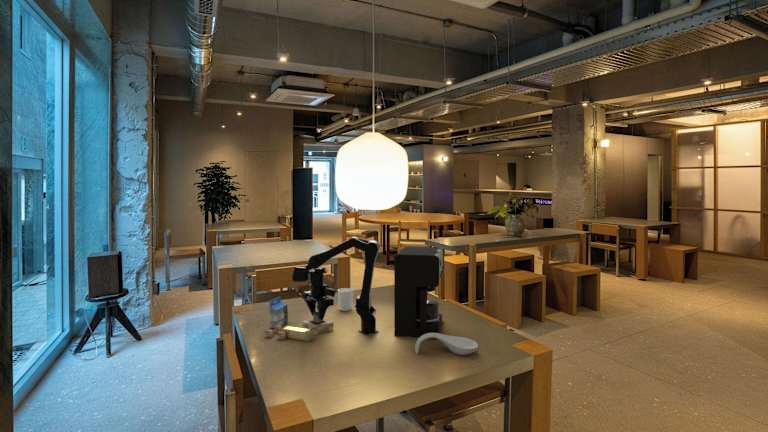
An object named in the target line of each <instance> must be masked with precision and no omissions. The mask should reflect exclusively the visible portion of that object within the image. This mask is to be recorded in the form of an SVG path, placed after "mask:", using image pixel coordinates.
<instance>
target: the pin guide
mask: <svg viewBox="0 0 768 432" xmlns="http://www.w3.org/2000/svg"><path fill="white" fill-rule="evenodd" d="M274 333H277V339H279V340H286V339H287V338H286V332H283V325H282V326H279V325H275V326H274V328H273V329H269V328H268V329H265V330H264V334H265V335H264V337H265V338H266V337H267V338H272V337H274Z"/></svg>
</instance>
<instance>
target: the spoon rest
mask: <svg viewBox="0 0 768 432" xmlns="http://www.w3.org/2000/svg"><path fill="white" fill-rule="evenodd" d="M428 338H437V339H436V340H439V341H440V342H442V344H444V345H445V346H446V348H447V349H448V350H449V351H451V353H453V354H455V355H458V356H466V355H470V354H472V353H473V352H475V351H476V350H477V349H478V346H479V345H478V343H477V342H476V341H474V340H473V339H469V338H467V337H463V336H455V335H448V334H444V333H441V332H440V333H427V334H424V335H422V336H421V337H419V338H417V340H416V342H415V345H414V351H415V354H416V355H418V354H419V351H420V346H421V344H422V343H423V341H425V340H427V339H428ZM428 340H429V339H428Z"/></svg>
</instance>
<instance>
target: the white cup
mask: <svg viewBox="0 0 768 432" xmlns="http://www.w3.org/2000/svg"><path fill="white" fill-rule="evenodd" d="M353 297H354V289H353V288H351V287H350V288H349V287H343V288H342V287H341V288H338V289H337V302H338V310H339V311H343V312H346V311H347V312H348V311H351V310H353V302H354V299H353Z"/></svg>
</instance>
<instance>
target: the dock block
mask: <svg viewBox="0 0 768 432" xmlns="http://www.w3.org/2000/svg"><path fill="white" fill-rule="evenodd" d="M301 323H302V324H301V328H304V329H309V328H315V335H316V336H317V335H319V334H320V335H321V334H323V333H327V332H332V331H334V322H333V321H331V320H330V319H328V318H325V317H324V319H323V323H320V324H316V325H315V324H313V318H309V319H306V320H302V321H301Z"/></svg>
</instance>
